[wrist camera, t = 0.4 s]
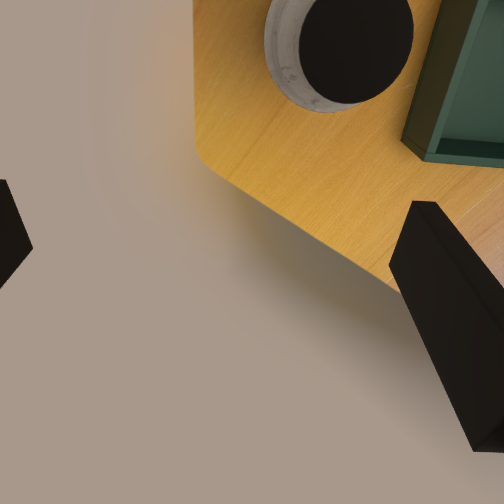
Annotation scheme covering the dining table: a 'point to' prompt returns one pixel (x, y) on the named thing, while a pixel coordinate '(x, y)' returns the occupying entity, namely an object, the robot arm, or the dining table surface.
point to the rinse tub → (461, 88)
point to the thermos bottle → (336, 49)
